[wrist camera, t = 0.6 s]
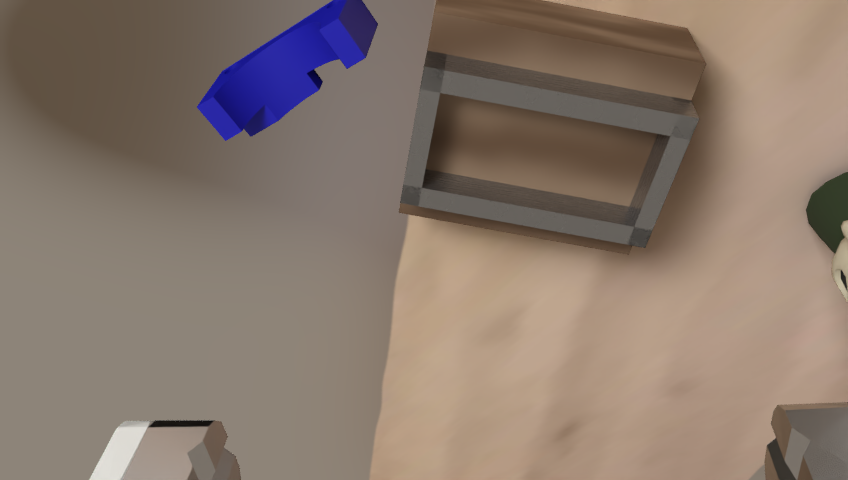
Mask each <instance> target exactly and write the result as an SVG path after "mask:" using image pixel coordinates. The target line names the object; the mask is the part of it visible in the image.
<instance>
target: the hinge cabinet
mask: <svg viewBox="0 0 848 480" xmlns="http://www.w3.org/2000/svg"><path fill="white" fill-rule="evenodd" d="M705 65H706V63H705V61H704V59H703V57H702V55H701V53H700V51H699V50H698V48H697V46H696V44H695V42H694V40H693V38H692V36H691V34H690V33H689V31H688V29H687V28H683V27H678V26H672V25H667V24H662V23H657V22H652V21H646V20H641V19H636V18H631V17H626V16H620V15H615V14H610V13H605V12H600V11H594V10H589V9H584V8H579V7H574V6H568V5H563V4H558V3H553V2H548V1H542V0H436V5H435V10H434V15H433V21H432V27H431V32H430V38H429V44H428V49H427V55H426V59H425V64H424V70H423V76H422V81H421V87H420V93H419V98H418V104H417V110H416V115H415V121H414V127H413V133H412V138H411V144H410V150H409V155H408V161H407V167H406V172H405V178H404V184H403V190H402V195H401V201H400V209H399V213H404V214H410V215H415V216H421V217H426V218H431V219H437V220H442V221H448V222H453V223H459V224H464V225H470V226H475V227H481V228H486V229H492V230H497V231H503V232H508V233H514V234H519V235H525V236H530V237H536V238H541V239H547V240H552V241H557V242H563V243H568V244H574V245H579V246H585V247H590V248H596V249H601V250H607V251H612V252H618V253H623V254H629V252H630V250H631V247H632V246H638V247H643V248H645V247H646V244H647V242H648V240H649V237H650V235H651V232H652V230H653V228H654V225H655V223H656V221H657V218H658V216H659V213H660V211H661V209H662V206H663V204H664V201H665V199H666V197H667V194H668V192H669V190H670V187H671V185H672V182H673V180H674V178H675V175H676V173H677V171H678V168H679V166H680V163H681V161H682V159H683V156H684V154H685V151H686V149H687V147H688V144H689V142H690V140H691V137H692V135H693V132H694V130H695V128H696V125H697V123H698V120H699V117H698V114H697V112H696V110H695V108H694V105H693V103H692V101H691V100H692V97H693V95H694V92H695V90H696V87H697V85H698V82H699V80H700V78H701V75H702V73H703V70H704V68H705Z"/></svg>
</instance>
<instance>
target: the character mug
mask: <svg viewBox="0 0 848 480" xmlns="http://www.w3.org/2000/svg"><path fill="white" fill-rule="evenodd" d="M806 211H807V217H808V222H809V224H810V225H811V227H812V228H813V229H814V230H815V232H816V233H817V234H818V236H819V237H820V238H821V239H822V240H823V241H824V242H825V244H826V245H827V246H828V247H829V248H830V249H831V250H832V251H833V252H834V253H835V255H834V257H833V260H832V276H833V279H834V281H835V282H836V284H837V286H838V287H839V289H840V291H841V293H842V294H843V296H844V298H845V300H846V301H847V303H848V172H846V173H844V174H842V175H840V176H838V177H836V178H834V179H832V180H830V181H828V182H826V183H825V184H824V185H822V186H821V187H820V188H819V189H818V190H816V191H815V192H814V193H813V194H812V195H811V198H810V201H809V203H808V206H807V209H806Z"/></svg>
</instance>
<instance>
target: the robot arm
mask: <svg viewBox="0 0 848 480" xmlns="http://www.w3.org/2000/svg"><path fill="white" fill-rule="evenodd" d="M771 425H772V428H773V431H774V433H775V436H776V438H775V439H774V440H773V441H772V442H770V443H769V444H768V445H767V448H766V455H765V477H766V480H848V402H843V403H816V404H789V405H777V407H776V408H775V410H774V411H773V416H772V421H771ZM227 437H228V436H227V433H226V431H225V429H224V427H223V425H222V422H220V421H215V420H211V421H209V420H201V421H200V420H197V421H194V420H189V421H188V420H186V421H185V420H183V421H181V420H175V421H174V420H171V421H170V420H166V421H165V420H157V421H156V420H155V421H125V422H124V423H122V424H121V425H120V426H119V427H118V428H117V429H116V430H115V432H114V434H113V436H112V438H111V439H110V442H109V443H108V445H107V447H106V449H105V451H104V453H103V455H102V456H101V458H100V460H99V462H98V464H97V466H96V468H95V470H94V472H93V474H92V475H91V477H90V479H89V480H241V476H240V468H239V464H238V462H237V459H236V456H235V455H234V454H232V453H231V452H229V451H228V450H227V449H225V448H224V445H225V442H226V440H227Z"/></svg>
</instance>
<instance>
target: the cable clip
mask: <svg viewBox="0 0 848 480" xmlns="http://www.w3.org/2000/svg"><path fill="white" fill-rule="evenodd" d="M377 25H378V23H377V22H376V20H375V19H374V17H373V16H372V14H371V13H370V11H369V10H368V8H367V7H366V5H365V4H364V3H363V1H362V0H332V1H331V2H329V3H328V4H326V5H325V6H323V7H321V8H320V9H319V10H317V11H315V12H314V13H312V14H310V15H309V16H307V17H306V18H304V19H303V20H301V21H300V22H298V23H296V24H295V25H294V26H292V27H290V28H289V29H287V30H286V31H284V32H282V33H281V34H279V35H278V36H276V37H275V38H273V39H271V40H270V41H268V42H267V43H265V44H264V45H262V46H260V47H259V48H257V49H256V50H255V51H253V52H251V53H250V54H248V55H246V56H245V57H244V58H242V59H240V60H239V61H237V62H235V63H234V64H233V65H231V66H229V67H228V68H226V69H225V70H223V71H222V72H221V74H220V75H219V76H218V78H217V79H216V81H215V82H214V84H213V85H212V86H211V88H210V89H209V91H208V92H207V93H206V95H205V96H204V97H203V99H202V100H201V102H200V103H199V104H198V106H197V108H198V109H199V110H200V111H201V113H202V114H203V115H204V116H205V117H206V118H207V120H209V122H210V123H211V124H212V125H213V127H214V128H215V129H216V130H217V131H218V132H219V134H220V135H221V136H222V137H223V138H224V140H225V141H226V140H228V139H229V138H231V137H233V136H235V135H236V134H238V133H240V132H241V131H242V130H243V129H245V131H246V132H247V133H248V134H249V135H250V136H253V135H255V134H256V133H258V132H260V131H262V130H263V129H265V128H267V127H268V126H270V125H272V124H273V123H275V122H277V121H279V120H280V119H281V118H282V117H283V116H284V115H285V114H286V113H288V112H289V111H290V110H291V109H293V108H294V107H295V106H296V105H298V104H299V103H300V102H302V101H303V100H304V99H306V98H307V97H309V96H310V95H312V94H314V93H315V92H317V91H318V90H319V89H320V87H321V85H322V82H323V81H322V79H321V78H320V77H319V75H318V74H317V73H316V71H315V70H314V69H315V68H317V67H319V66H321V65H323V64H325V63H328V62H330V61H333V60H337V59H340V60H341V61H342V63H343V64H344V66H345V67H346V68H347V69H348V68H349V67H351V66H352V65H354V64H356V63H358V62H359V61H361V60H363V59H364V58H366V56H367V53H368V50H369V47H370V45H371V42H372V39H373V36H374V34H375V31H376V28H377Z"/></svg>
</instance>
